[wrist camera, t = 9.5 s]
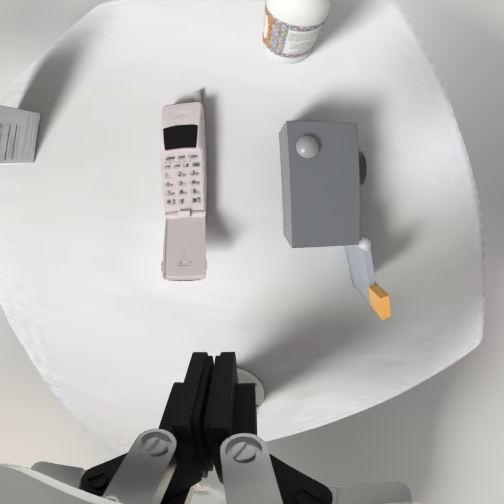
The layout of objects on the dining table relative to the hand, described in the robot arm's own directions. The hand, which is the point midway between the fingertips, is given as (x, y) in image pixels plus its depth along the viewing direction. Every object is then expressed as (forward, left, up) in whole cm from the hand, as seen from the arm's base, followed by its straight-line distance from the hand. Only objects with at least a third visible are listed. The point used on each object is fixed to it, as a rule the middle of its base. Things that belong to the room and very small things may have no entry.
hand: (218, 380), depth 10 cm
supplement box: (+21, +39, -29) cm, 53 cm away
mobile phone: (+8, +7, -30) cm, 32 cm away
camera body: (+7, -10, -29) cm, 32 cm away
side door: (-4, -16, -29) cm, 33 cm away
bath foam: (+28, -8, -29) cm, 41 cm away
